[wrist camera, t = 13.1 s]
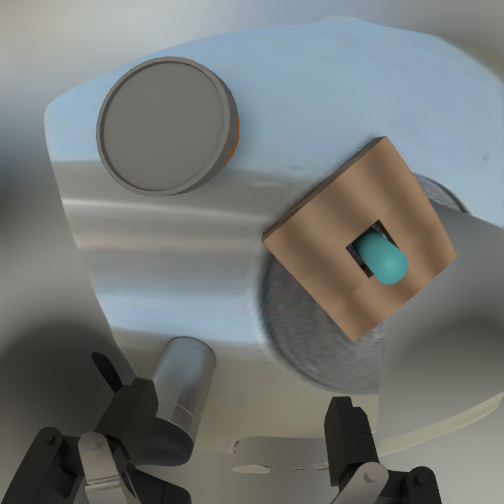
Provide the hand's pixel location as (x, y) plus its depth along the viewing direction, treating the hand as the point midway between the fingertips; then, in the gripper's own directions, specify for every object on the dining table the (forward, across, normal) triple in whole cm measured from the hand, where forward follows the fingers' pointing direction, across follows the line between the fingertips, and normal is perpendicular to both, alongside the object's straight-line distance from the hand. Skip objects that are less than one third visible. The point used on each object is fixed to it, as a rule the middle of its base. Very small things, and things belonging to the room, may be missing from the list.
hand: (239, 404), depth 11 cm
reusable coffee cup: (+28, +9, -13) cm, 32 cm away
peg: (+28, -14, 0) cm, 31 cm away
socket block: (+28, -14, 0) cm, 31 cm away
